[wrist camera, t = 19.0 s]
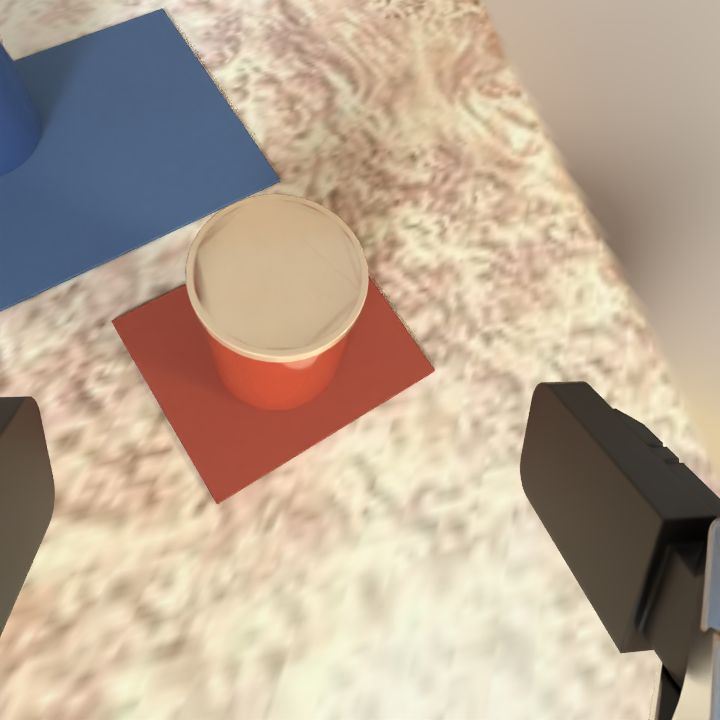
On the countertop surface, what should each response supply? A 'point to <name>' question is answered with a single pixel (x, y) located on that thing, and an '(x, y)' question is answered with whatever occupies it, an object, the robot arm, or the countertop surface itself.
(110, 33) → the blue mat
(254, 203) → the red tapered cylinder
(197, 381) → the rust mat
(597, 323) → the countertop surface
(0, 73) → the blue crock
